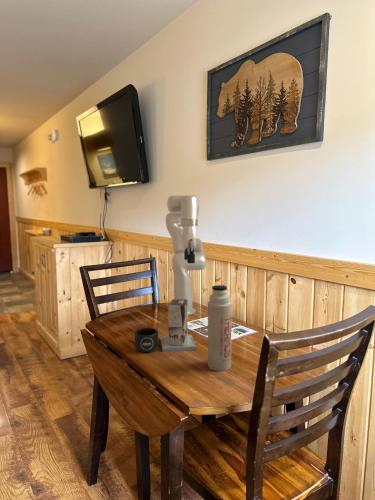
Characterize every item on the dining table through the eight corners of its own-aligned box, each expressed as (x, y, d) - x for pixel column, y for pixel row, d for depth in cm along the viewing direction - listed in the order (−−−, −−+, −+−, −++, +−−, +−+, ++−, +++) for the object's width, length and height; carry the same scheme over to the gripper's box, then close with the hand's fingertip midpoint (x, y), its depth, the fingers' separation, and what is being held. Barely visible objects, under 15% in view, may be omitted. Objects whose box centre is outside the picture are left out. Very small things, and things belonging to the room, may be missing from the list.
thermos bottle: (235, 368, 117) (236, 287, 113) (214, 372, 114) (214, 290, 110) (223, 358, 124) (224, 282, 121) (203, 363, 121) (203, 285, 117)
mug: (159, 353, 129) (159, 335, 129) (135, 355, 128) (134, 336, 127) (156, 341, 141) (156, 324, 140) (134, 342, 140) (134, 325, 139)
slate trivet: (160, 339, 143) (160, 336, 143) (191, 337, 145) (191, 334, 145) (162, 351, 130) (162, 348, 130) (196, 349, 132) (196, 346, 132)
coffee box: (184, 345, 133) (184, 305, 131) (168, 344, 134) (167, 304, 132) (188, 337, 142) (187, 299, 140) (172, 336, 143) (172, 298, 141)
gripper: (178, 222, 161) (178, 258, 163) (183, 224, 144) (183, 264, 146) (194, 222, 162) (194, 258, 164) (201, 224, 145) (201, 264, 147)
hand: (189, 261), depth 155 cm, fingers open, 9 cm apart
